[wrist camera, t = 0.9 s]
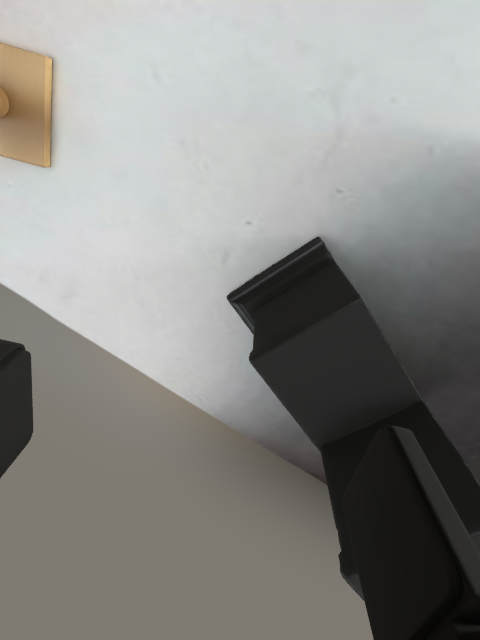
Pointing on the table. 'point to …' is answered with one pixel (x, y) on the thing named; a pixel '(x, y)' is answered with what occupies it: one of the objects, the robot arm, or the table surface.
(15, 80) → the ring stand
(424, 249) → the table surface
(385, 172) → the table surface
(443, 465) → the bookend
